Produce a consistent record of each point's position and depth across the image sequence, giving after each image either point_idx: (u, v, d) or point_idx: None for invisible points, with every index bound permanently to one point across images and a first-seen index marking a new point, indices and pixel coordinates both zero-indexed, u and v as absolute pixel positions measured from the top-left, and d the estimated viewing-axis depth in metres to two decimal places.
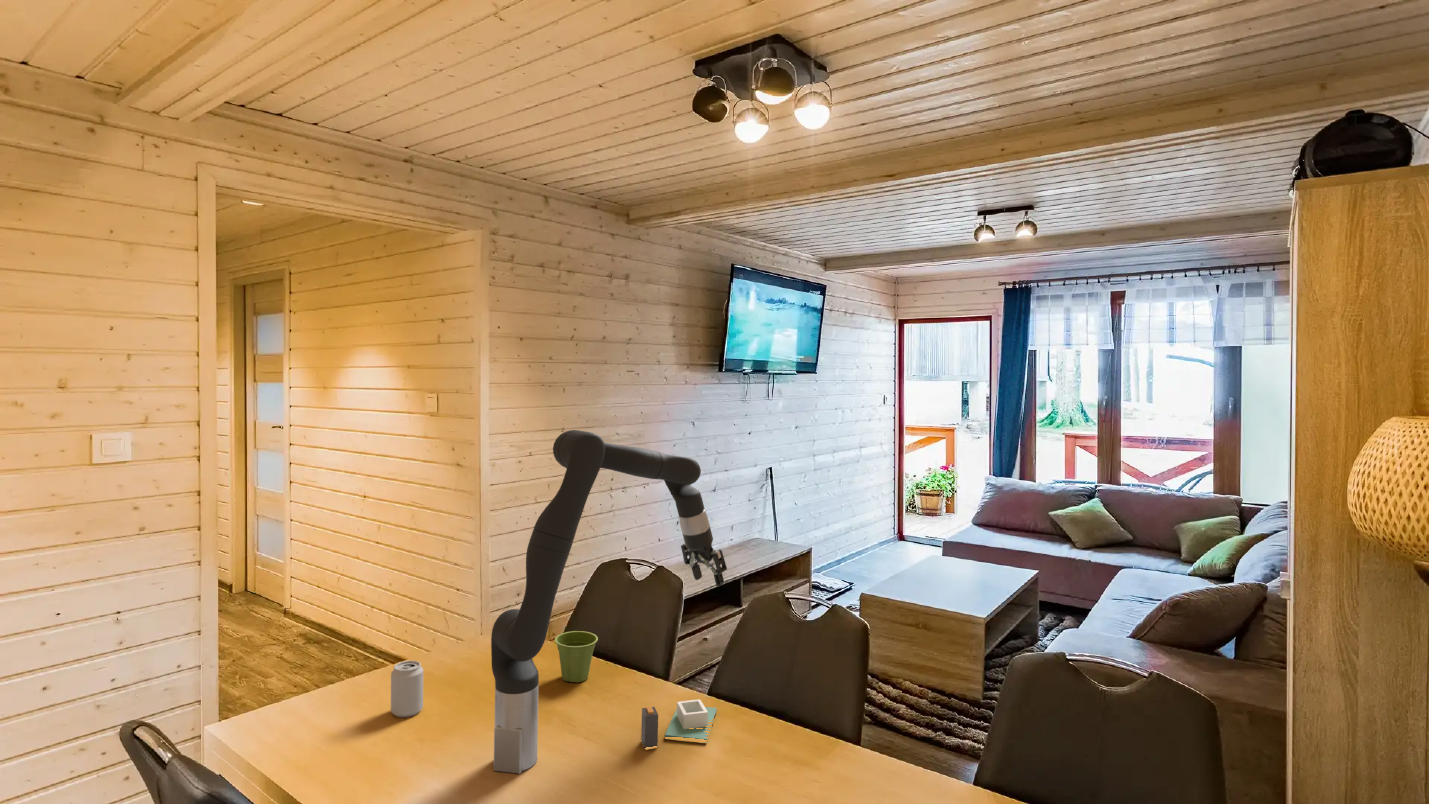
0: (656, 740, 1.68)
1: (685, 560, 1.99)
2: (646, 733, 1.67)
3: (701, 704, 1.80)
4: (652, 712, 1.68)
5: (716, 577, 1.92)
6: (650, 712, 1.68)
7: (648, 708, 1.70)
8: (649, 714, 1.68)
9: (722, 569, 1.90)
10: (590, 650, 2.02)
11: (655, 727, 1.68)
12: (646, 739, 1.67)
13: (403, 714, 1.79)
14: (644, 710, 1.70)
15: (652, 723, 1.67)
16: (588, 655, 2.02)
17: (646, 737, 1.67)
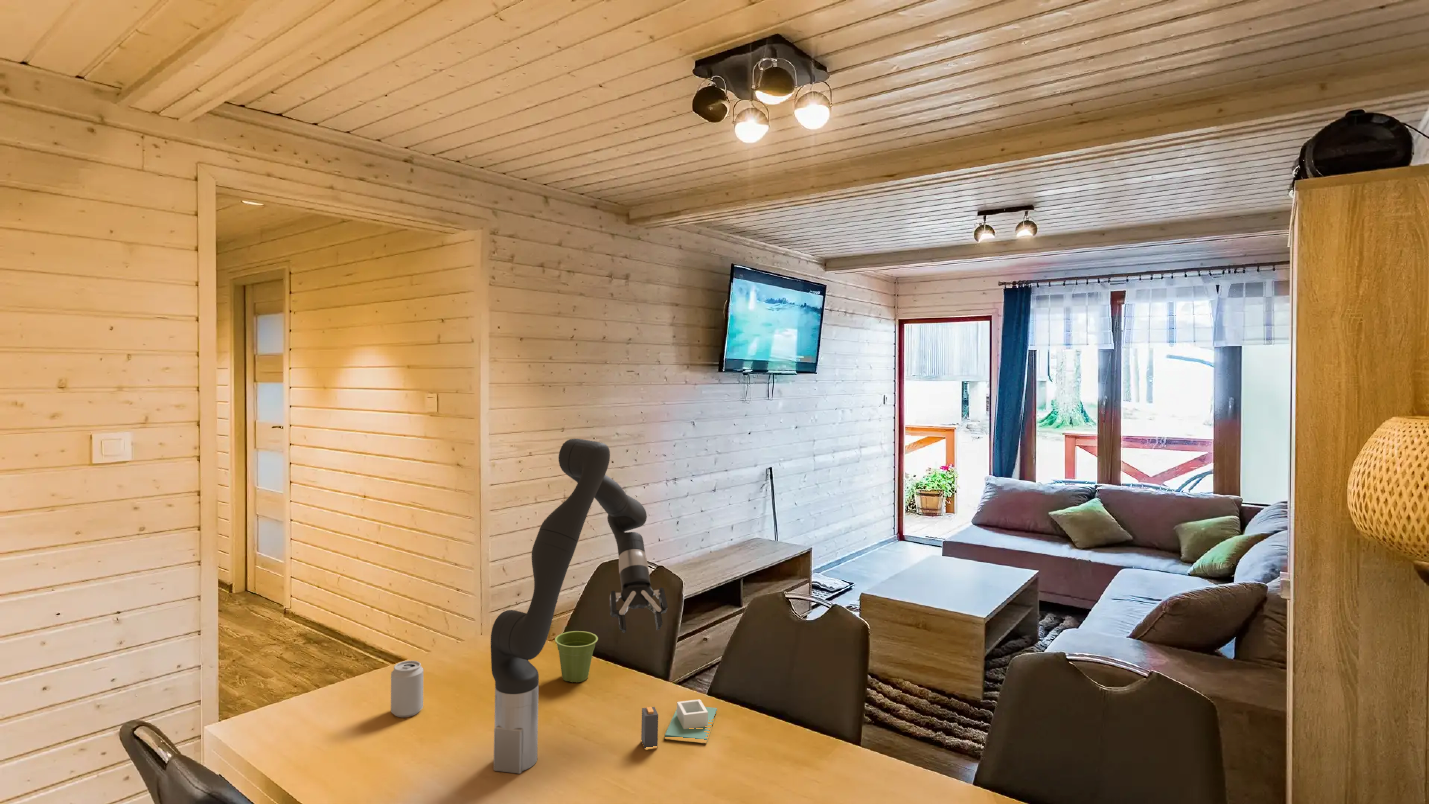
0: (656, 740, 1.68)
1: (613, 607, 1.81)
2: (646, 733, 1.67)
3: (701, 704, 1.80)
4: (652, 712, 1.68)
5: (658, 615, 1.82)
6: (650, 712, 1.68)
7: (648, 708, 1.70)
8: (649, 714, 1.68)
9: None
10: (590, 650, 2.02)
11: (655, 727, 1.68)
12: (646, 739, 1.67)
13: (403, 714, 1.79)
14: (644, 710, 1.70)
15: (652, 723, 1.67)
16: (588, 655, 2.02)
17: (646, 737, 1.67)
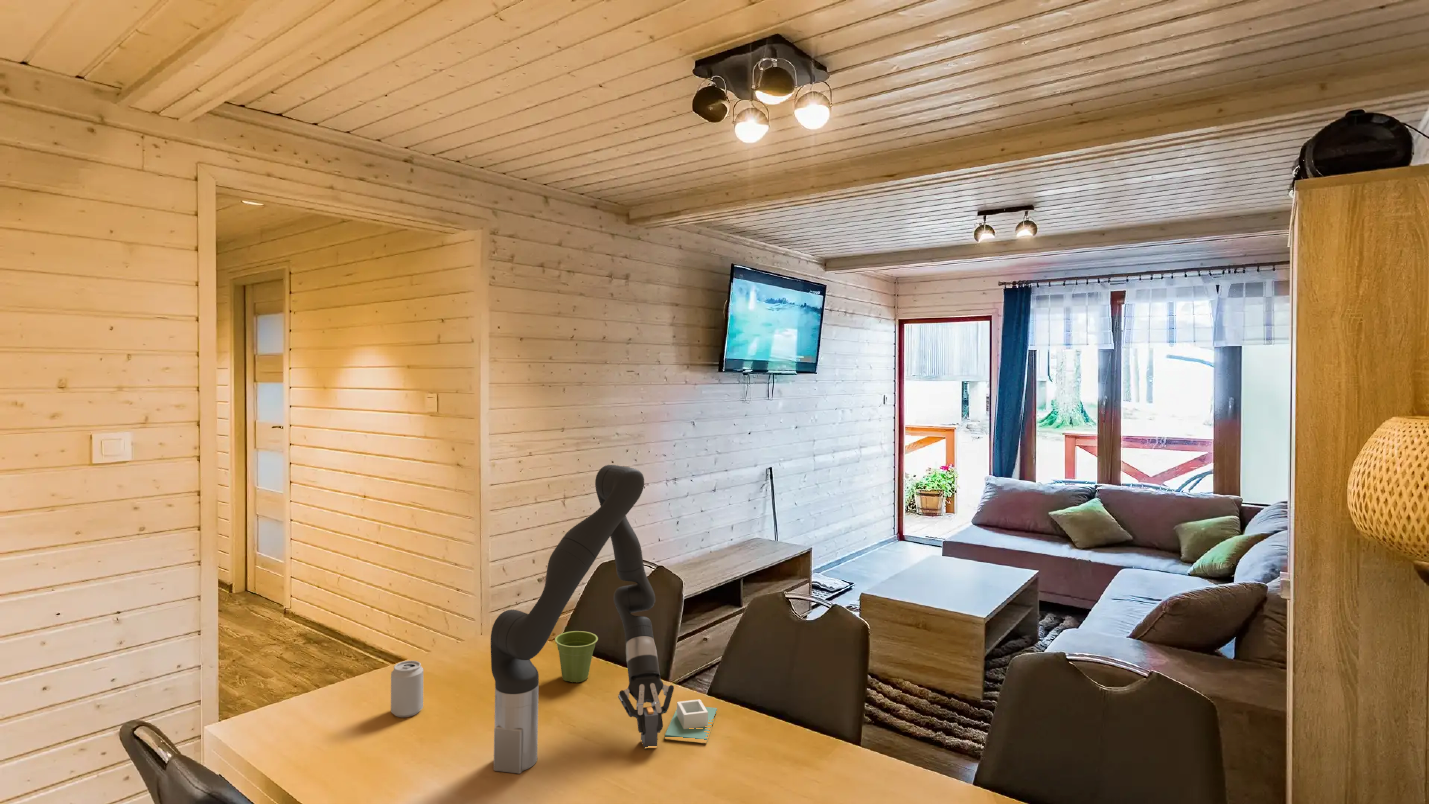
0: (656, 740, 1.68)
1: (632, 707, 1.69)
2: (646, 733, 1.67)
3: (701, 704, 1.80)
4: (652, 712, 1.68)
5: (659, 717, 1.69)
6: (650, 712, 1.68)
7: (648, 708, 1.69)
8: (649, 714, 1.68)
9: None
10: (590, 650, 2.02)
11: (655, 727, 1.68)
12: (646, 739, 1.67)
13: (403, 714, 1.79)
14: (644, 710, 1.69)
15: (651, 723, 1.67)
16: (588, 655, 2.02)
17: (646, 737, 1.67)
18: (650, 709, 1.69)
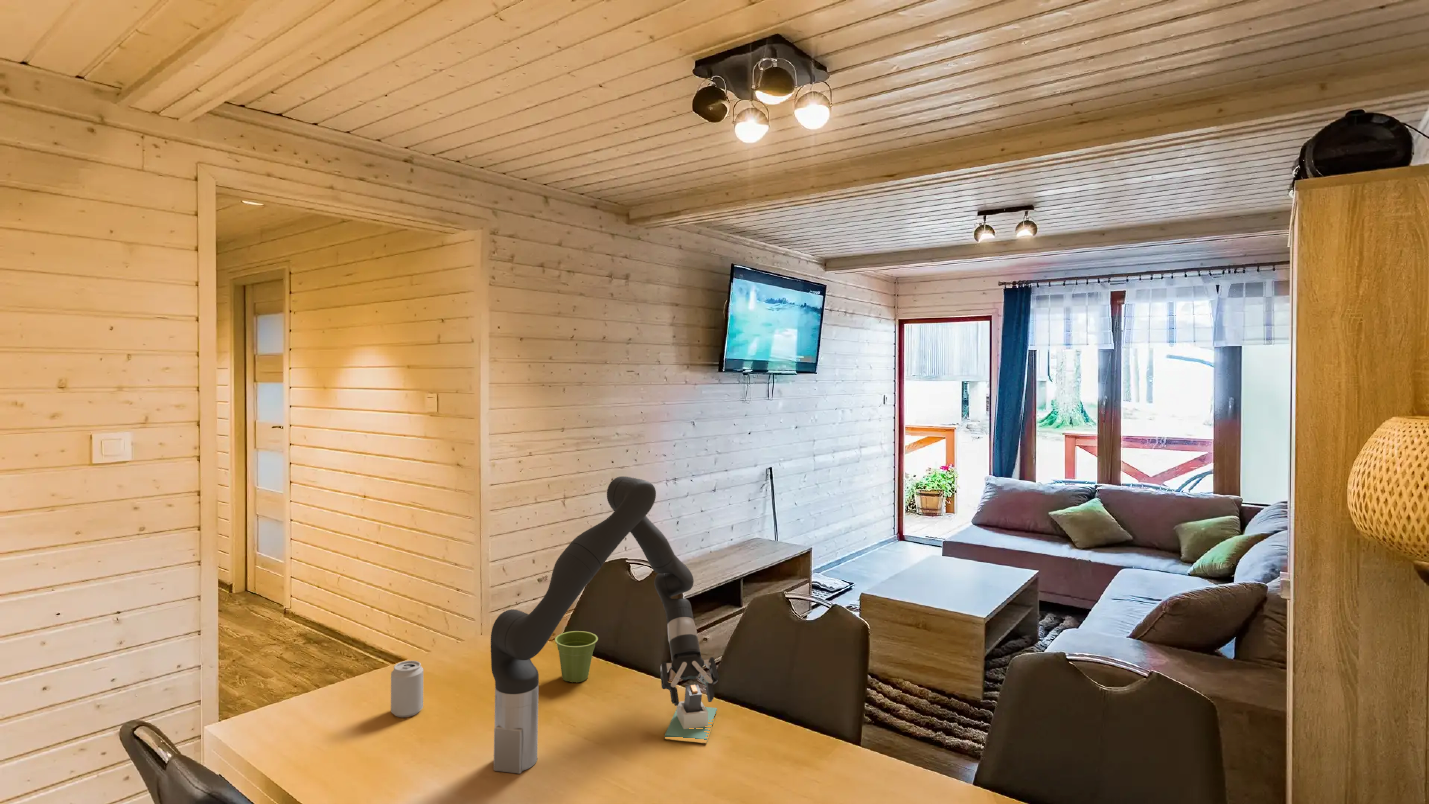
0: None
1: (665, 680, 1.79)
2: (689, 710, 1.77)
3: (701, 704, 1.80)
4: (696, 691, 1.77)
5: (710, 687, 1.80)
6: (694, 691, 1.77)
7: (692, 686, 1.78)
8: (693, 693, 1.77)
9: None
10: (590, 650, 2.02)
11: (698, 705, 1.77)
12: None
13: (403, 714, 1.79)
14: (688, 688, 1.78)
15: (695, 702, 1.76)
16: (588, 655, 2.02)
17: None
18: (694, 688, 1.78)
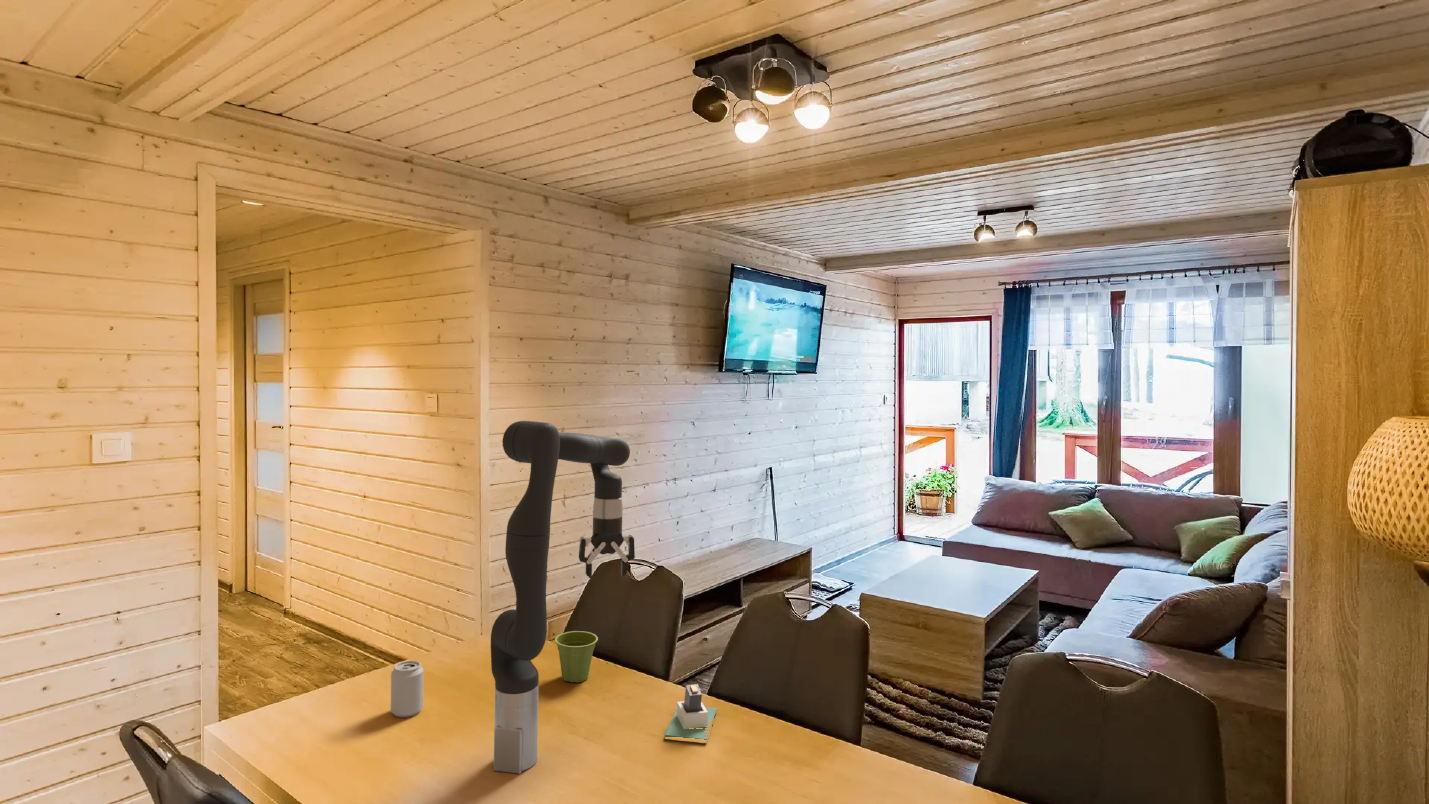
0: None
1: (582, 557, 1.86)
2: (689, 710, 1.77)
3: (701, 704, 1.80)
4: (696, 691, 1.77)
5: (624, 565, 1.90)
6: (694, 691, 1.77)
7: (692, 686, 1.78)
8: (693, 693, 1.77)
9: None
10: (590, 650, 2.02)
11: (698, 705, 1.77)
12: None
13: (403, 714, 1.79)
14: (688, 688, 1.78)
15: (695, 702, 1.76)
16: (588, 655, 2.02)
17: None
18: (694, 688, 1.78)
